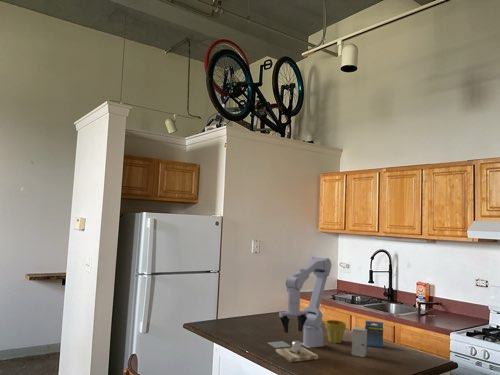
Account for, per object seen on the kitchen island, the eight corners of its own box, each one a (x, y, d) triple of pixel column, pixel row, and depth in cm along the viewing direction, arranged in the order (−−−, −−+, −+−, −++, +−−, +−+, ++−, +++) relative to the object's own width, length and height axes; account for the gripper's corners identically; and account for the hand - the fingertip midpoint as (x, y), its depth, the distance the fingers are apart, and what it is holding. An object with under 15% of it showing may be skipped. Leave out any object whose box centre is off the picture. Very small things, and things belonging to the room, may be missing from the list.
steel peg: (296, 353, 193) (297, 340, 193) (302, 356, 190) (302, 342, 190) (290, 355, 191) (290, 341, 191) (295, 357, 187) (295, 343, 188)
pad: (282, 342, 211) (282, 341, 211) (291, 347, 203) (291, 346, 203) (266, 343, 208) (266, 342, 208) (275, 348, 200) (275, 347, 200)
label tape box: (382, 345, 212) (383, 320, 214) (383, 347, 209) (383, 322, 210) (364, 343, 215) (365, 319, 216) (364, 345, 211) (365, 320, 212)
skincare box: (351, 355, 194) (351, 328, 195) (353, 352, 198) (354, 326, 199) (364, 357, 191) (364, 330, 192) (367, 355, 195) (367, 328, 196)
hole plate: (301, 349, 199) (301, 346, 199) (318, 358, 186) (318, 355, 187) (275, 352, 194) (275, 349, 194) (290, 362, 181) (290, 358, 181)
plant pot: (345, 345, 210) (346, 325, 211) (324, 343, 213) (325, 323, 213) (345, 339, 221) (345, 320, 221) (325, 338, 223) (325, 319, 224)
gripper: (302, 300, 204) (301, 328, 202) (276, 301, 198) (275, 330, 196) (310, 302, 197) (309, 332, 196) (283, 304, 191) (282, 334, 190)
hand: (293, 331), depth 196 cm, fingers open, 7 cm apart
